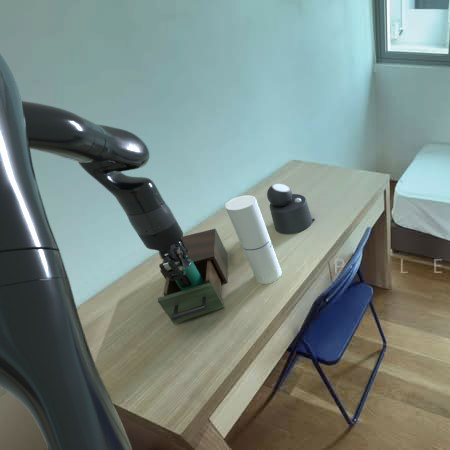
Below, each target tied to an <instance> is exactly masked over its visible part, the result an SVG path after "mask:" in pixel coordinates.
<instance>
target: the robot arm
mask: <svg viewBox="0 0 450 450" xmlns="http://www.w3.org/2000/svg"><path fill="white" fill-rule="evenodd" d="M31 150H34V151H38V152H42V153H46V154H50V155H53V156H56V157H60V158H63V159H67V160H70V161H73V162H77V163H78V164H79V166H80V167H81V168H82V170H84V171H85V172H86V173H87V174H88V175H89V176H90V177H92V178H93V179H94V180H95V181H97V182H98V184H100V185H101V186H102V187H103V188H105V189H106V191H108V192H109V193H110V194H111V195H112V196H113V197H114V198H115V200H116V201H117V203H118V204H119V205H120V207H121V208H122V210H123V212H124V213H125V215H126V216H127V219H128V221H129V223H130V225H131V227H132V228H133V230H134V231H135V233H136V234H137V235H138V237H139V239H140V240H141V242H142V243H143V245H144V246H145V248H147V249H148V250H151V251H152V250H153V251H158V255H159V258H160V259H161V260H162V262H164V263H162V262H161V263H159V265H158V267H159V269H160V270H162V271H163V272H164V273H165V274H166V275H167V277H168V278H169V279H170V280H171V281H174V280H177V281H178V283H179V284H180V286H181V287H182V288H185V287H189V286H191V285H192V282H191V280H190V279H189V277H188V275H187V274H186V272H185V269H184V267H183V265H184V264H185V263H184V260H183V259H188V258H189V256H188V255H187V253H188V249H187V247H186V245H185V243H184V241H183V239H182V237H183V236H184V232H183V229H182V228H181V226H180V224H179V223H178V220H177V219H176V216H175V215H174V213H173V210H171V208H170V206H169V205H168V203H166V201H165V200H164V198H163V196H162V194H161V193H160V190H159V188H158V187H157V185H156V183H155V182H154V181H153V180H152V179H151V178H149V177H145V176H143V177H142V176H131V175H127V174H125V173H123V172H126V171H134V170H138V169H139V170H140V169H141V168H144V167H145V166H146V165H147V164H148V163H149V160H150V158H151V157H150V156H151V154H150V149H149V148H148V145H147V144H146V142H145V141H144V140H143V139H142V138H140V137H139V135H137V134H135V133H133V132H132V131H129V130H126V129H122V128H119V127H113V126H109V125H103V124H97V123H94V122H92V121H90V120H88V119H86V118H84V117H82V116H80V115H78V114H77V113H74V112H72V111H69V110H67V109H64V108H60V107H56V106H52V105H49V104H44V103H38V102H32V101H25V100H22V97H21V93H20V90H19V86H18V84H17V80H16V79H15V77H14V74H13V72H12V69H11V68H10V65H8V63H7V61H6V60H5V58H4V57H3V55H2V54H1V53H0V389H1V390H3V391H5V392H7V393H8V394H10V395H11V396H12V397H14V398H15V399H16V400H17V401H18V402H20V403H21V404H22V405H23V406H24V408H25V409H26V410H27V412H28V413H29V415H31V417H32V419H33V420H34V422H35V424H36V425H37V428H38V429H39V431H40V434H41V435H42V437H43V440H44V442H45V445H46V448H47V449H46V450H133V447H132V444H131V441H130V438H129V436H128V434H127V432H126V430H125V427H124V424H123V423H122V420H121V417H120V416H119V413H118V411H117V409H116V407H115V406H114V403H113V401H112V398H111V396H110V394H109V392H108V390H107V388H106V385H105V383H104V381H103V379H102V376H101V374H100V372H99V370H98V367H97V364H96V362H95V360H94V357H93V355H92V352H91V349H90V346H89V343H88V340H87V337H86V334H85V331H84V327H83V325H82V322H81V318H80V316H79V312H78V307H77V304H76V301H75V296H74V292H73V289H72V285H71V281H70V278H69V274H68V271H67V268H66V265H65V262H64V258H63V256H62V253H61V250H60V247H59V245H58V242H57V239H56V236H55V234H54V231H53V228H52V225H51V223H50V219H49V217H48V213H47V210H46V207H45V205H44V201H43V198H42V194H41V190H40V187H39V184H38V180H37V177H36V173H35V168H34V163H33V158H32V153H31ZM178 261H179V262H180V263H177V264H176V263H175V262H178ZM178 267H179V268H180V269H179V268H178Z"/></svg>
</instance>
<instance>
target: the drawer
mask: <svg viewBox="0 0 450 450" xmlns="http://www.w3.org/2000/svg"><path fill="white" fill-rule="evenodd" d="M194 265H195V266H196V268H197V270H198V272H199V273H200V275H201V277H202V279H203V281H204V284H203V285H200V286H197V287H193V288H190V289H187V290H183V291H181V290H180V288H179V286H178V285H177V283H176V282H175V280H174V281H171V280H170V279H169V278H168V277H167V279H165V284H164V288H163V293H162V294H163V296H159V297H158V298H157V302H158V305H160V307H161V308H162V310H163V311H164V313H165V314H166V315H167V317H168V318H169V320H170V321H171V323H172V324H174V325H175V324H178V323H181V322H184V321H187V320H189V319H193V318H196V317H199V316H202V315H205V314H208V313H211V312H214V311H217V310H220V309H224V308H225V303H224V302H223V300H222V297H221V296H222V295H221V294H222V284H221V276H220V274H219V272H218V270H217V268H216V266H215V264H214V262H213V260H212V259H210V260H207V261H203V262H199V263H196V264H194Z"/></svg>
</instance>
